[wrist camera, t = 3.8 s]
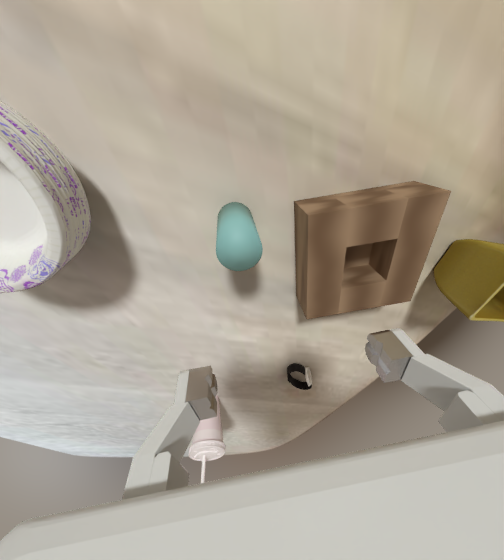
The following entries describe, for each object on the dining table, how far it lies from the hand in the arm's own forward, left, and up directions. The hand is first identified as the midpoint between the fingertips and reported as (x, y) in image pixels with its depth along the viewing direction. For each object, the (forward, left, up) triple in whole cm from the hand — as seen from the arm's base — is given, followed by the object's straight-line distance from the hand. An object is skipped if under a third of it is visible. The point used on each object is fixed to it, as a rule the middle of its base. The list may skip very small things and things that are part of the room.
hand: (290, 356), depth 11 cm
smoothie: (+14, +36, -19) cm, 43 cm away
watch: (-5, +32, -19) cm, 37 cm away
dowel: (+2, -1, -18) cm, 18 cm away
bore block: (-12, +5, -18) cm, 22 cm away
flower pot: (-29, +10, -19) cm, 36 cm away
